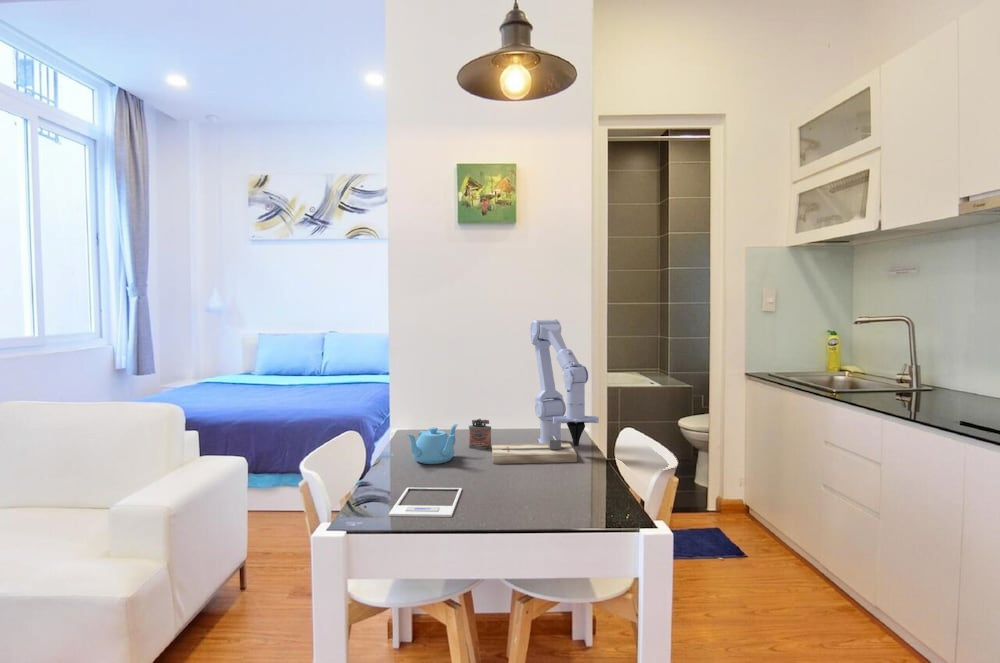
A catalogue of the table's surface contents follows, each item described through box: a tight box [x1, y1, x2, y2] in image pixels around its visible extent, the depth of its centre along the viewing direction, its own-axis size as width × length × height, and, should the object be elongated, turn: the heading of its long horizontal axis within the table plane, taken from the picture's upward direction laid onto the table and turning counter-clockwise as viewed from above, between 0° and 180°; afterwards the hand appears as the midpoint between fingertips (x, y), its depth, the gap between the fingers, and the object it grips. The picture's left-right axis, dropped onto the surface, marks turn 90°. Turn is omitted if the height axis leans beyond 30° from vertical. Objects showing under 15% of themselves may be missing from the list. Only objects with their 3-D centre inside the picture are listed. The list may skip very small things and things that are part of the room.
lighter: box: [468, 418, 492, 451], centre depth 177 cm, size 8×3×10 cm, turn 73°
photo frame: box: [388, 487, 463, 518], centre depth 126 cm, size 15×1×18 cm
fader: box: [548, 436, 562, 449], centre depth 166 cm, size 5×4×3 cm
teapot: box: [406, 423, 459, 465], centre depth 163 cm, size 15×15×10 cm
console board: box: [491, 442, 578, 465], centre depth 165 cm, size 14×26×3 cm, turn 92°
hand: (575, 445), depth 166 cm, fingers closed
